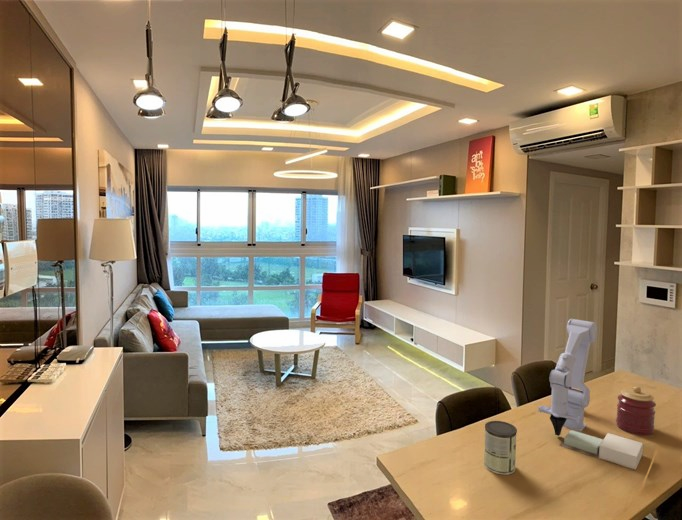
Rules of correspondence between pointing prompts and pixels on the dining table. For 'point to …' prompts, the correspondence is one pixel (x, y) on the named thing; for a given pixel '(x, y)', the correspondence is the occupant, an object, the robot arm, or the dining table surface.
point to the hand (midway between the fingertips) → (557, 434)
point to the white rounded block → (621, 450)
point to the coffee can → (500, 447)
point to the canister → (636, 411)
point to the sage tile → (583, 441)
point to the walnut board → (588, 453)
